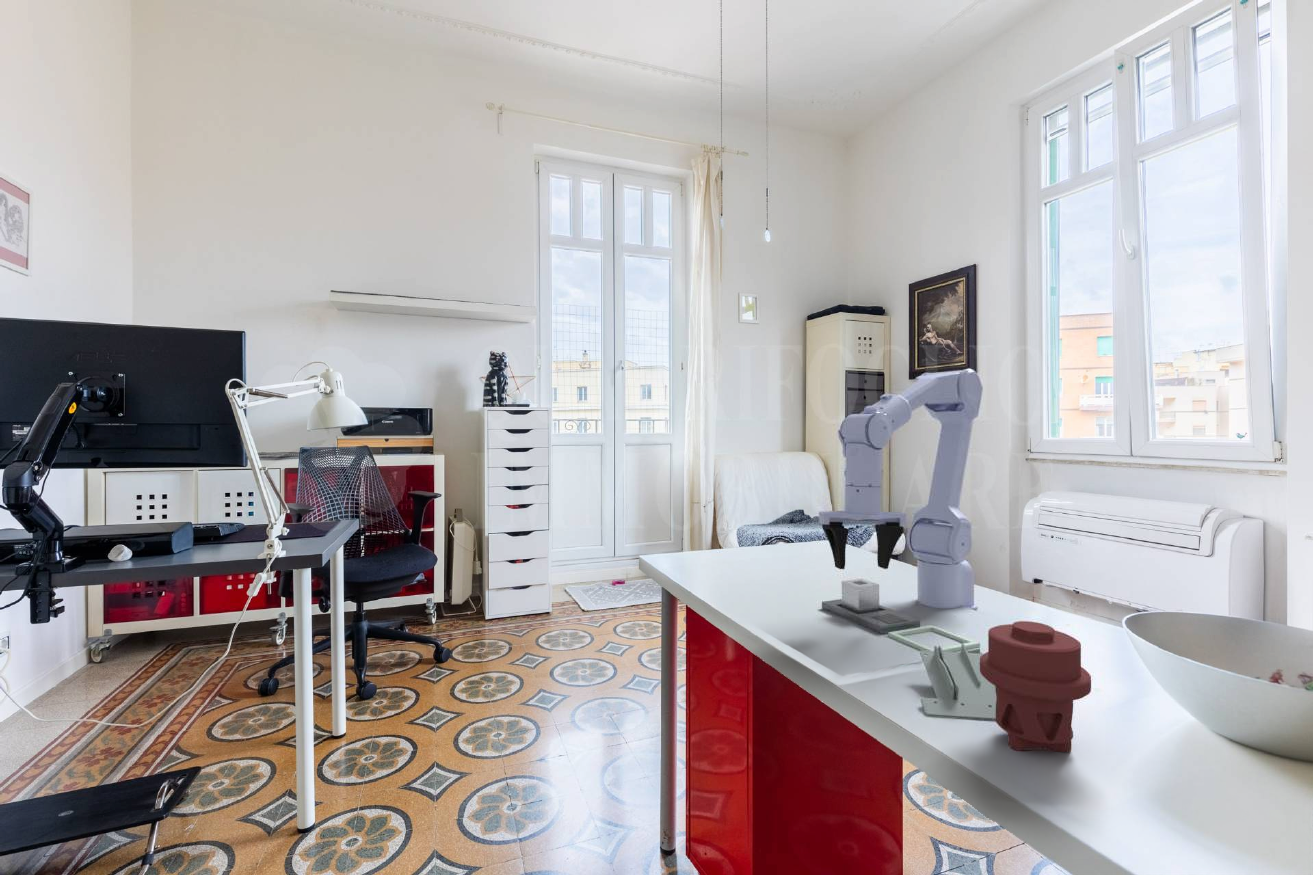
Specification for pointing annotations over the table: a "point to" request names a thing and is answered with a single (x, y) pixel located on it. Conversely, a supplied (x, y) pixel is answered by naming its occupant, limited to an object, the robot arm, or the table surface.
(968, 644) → the tray
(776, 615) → the table surface
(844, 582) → the cube with square inset
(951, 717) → the metal bracket
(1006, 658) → the mechanical component
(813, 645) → the table surface
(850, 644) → the table surface
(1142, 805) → the table surface
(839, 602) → the plate with square cutouts
